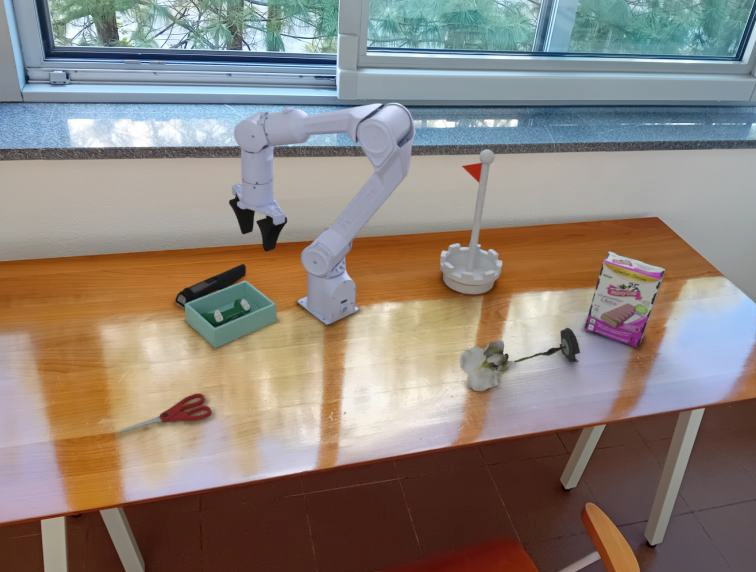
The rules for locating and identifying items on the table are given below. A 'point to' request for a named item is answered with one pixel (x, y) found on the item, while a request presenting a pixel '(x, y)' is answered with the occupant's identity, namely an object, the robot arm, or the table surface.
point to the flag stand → (472, 245)
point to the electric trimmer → (210, 285)
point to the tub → (224, 300)
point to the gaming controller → (227, 313)
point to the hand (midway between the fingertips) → (258, 240)
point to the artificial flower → (505, 360)
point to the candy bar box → (624, 299)
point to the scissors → (179, 412)
